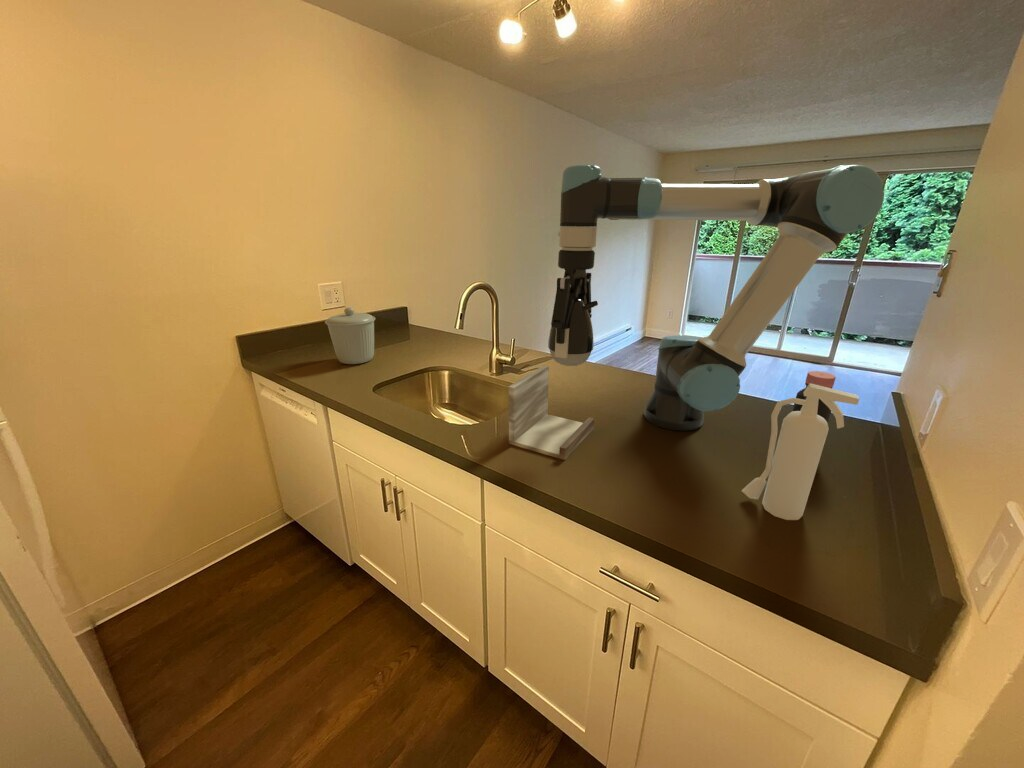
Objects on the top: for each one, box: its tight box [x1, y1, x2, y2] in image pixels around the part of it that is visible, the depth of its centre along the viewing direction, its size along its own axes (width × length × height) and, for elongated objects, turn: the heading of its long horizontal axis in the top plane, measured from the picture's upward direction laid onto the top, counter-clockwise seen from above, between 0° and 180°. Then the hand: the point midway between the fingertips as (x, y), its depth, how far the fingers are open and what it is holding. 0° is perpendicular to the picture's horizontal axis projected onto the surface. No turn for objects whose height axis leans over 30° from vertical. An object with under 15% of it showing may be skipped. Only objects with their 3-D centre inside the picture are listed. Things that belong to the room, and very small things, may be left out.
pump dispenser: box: [547, 297, 599, 367], centre depth 93 cm, size 10×10×15 cm
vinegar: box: [791, 370, 836, 425], centre depth 92 cm, size 7×7×20 cm
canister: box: [324, 306, 376, 365], centre depth 161 cm, size 18×18×21 cm
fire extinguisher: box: [741, 383, 860, 521], centre depth 74 cm, size 7×12×25 cm, turn 57°
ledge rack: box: [507, 365, 595, 461], centre depth 103 cm, size 15×18×15 cm
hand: (570, 351), depth 95 cm, fingers closed on pump dispenser, 10 cm apart
